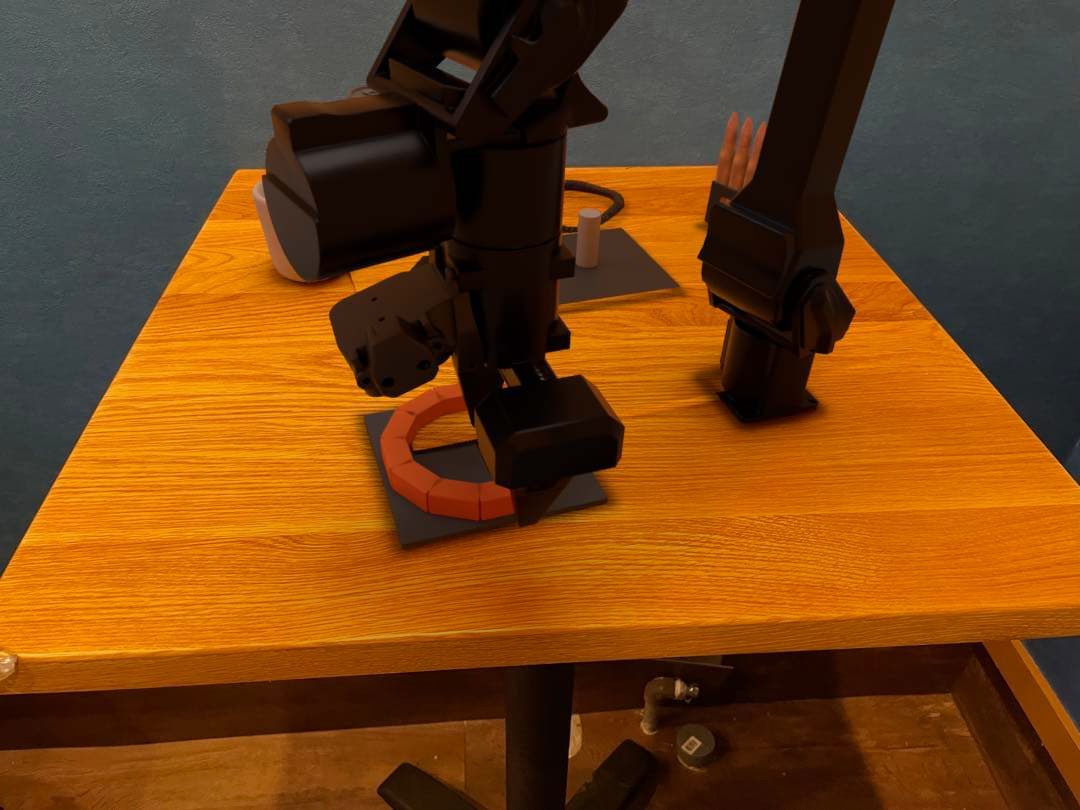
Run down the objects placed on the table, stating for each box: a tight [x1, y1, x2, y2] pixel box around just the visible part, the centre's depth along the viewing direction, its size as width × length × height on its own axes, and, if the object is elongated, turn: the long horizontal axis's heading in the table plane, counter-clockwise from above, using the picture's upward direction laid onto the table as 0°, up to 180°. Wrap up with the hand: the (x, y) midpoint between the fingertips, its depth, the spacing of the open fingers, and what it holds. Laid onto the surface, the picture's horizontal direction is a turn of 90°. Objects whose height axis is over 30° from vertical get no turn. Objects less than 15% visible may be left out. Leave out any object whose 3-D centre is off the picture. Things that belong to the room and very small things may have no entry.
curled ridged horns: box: [562, 179, 625, 234], centre depth 85 cm, size 13×5×10 cm
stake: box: [559, 208, 682, 306], centre depth 75 cm, size 13×13×6 cm
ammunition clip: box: [703, 110, 767, 223], centre depth 79 cm, size 11×2×12 cm, turn 37°
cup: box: [251, 179, 332, 283], centre depth 74 cm, size 11×8×8 cm
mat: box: [363, 408, 609, 550], centre depth 54 cm, size 13×13×1 cm
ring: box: [380, 382, 515, 521], centre depth 54 cm, size 12×12×2 cm
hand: (501, 471), depth 48 cm, fingers open, 9 cm apart
